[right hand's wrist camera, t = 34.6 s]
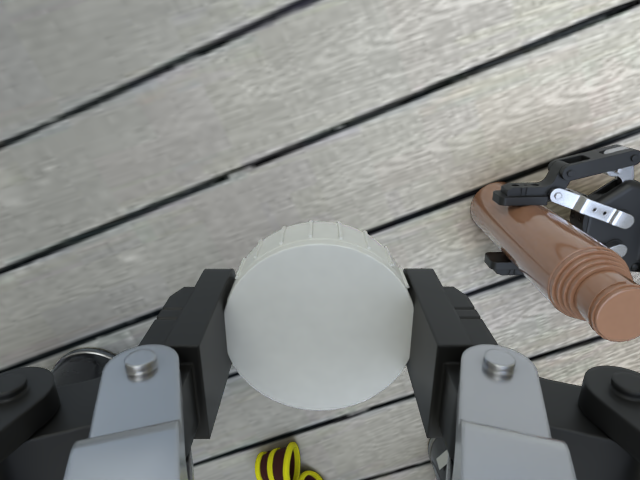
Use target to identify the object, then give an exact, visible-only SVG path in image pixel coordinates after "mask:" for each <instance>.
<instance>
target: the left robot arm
mask: <svg viewBox="0 0 640 480" xmlns="http://www.w3.org/2000/svg"><path fill="white" fill-rule="evenodd" d="M639 162H640V151H639V150H635V149H632V148H628V147H625V146H621V145H612V146H608V147H604V148H600V149H596V150H592V151H588V152H584V153H580V154H575V155H571V156H567V157H563V158H559V159H555V160H553V161H551V162H550V163H549V165H548V170H549V172H548V174H547V176H546V177H545V179H543V180H542V181H540V182H537V183H507V184H504V185H502V186H501V190H495V191H493V197H492V200H493V201H494V202H496V203H497V204H498V205H502V206H527V205H547V201H552V202H554V203H556V204H559V205H562V206H565V207H567V208H570V209H571V213H570V222H571V223H572V224H573V225H575V226H576V227H578V228H579V229H581V230H582V231H584V232H585V233H587V234H589V235H590V236H592V237H593V238H595V239H596V240H598V241H599V242H601V243H602V244H604V245H605V246H607V247H609V248H610V249H612V250H613V251H615V252H616V253H618V254H619V255H620V256H621V258H622V259H623V260H624V261H625V262H626V264H627V266H628V268H629V271H633V272H640V182H638V181H636V180H634V165H637V164H638V163H639ZM601 173H604V174H607V175H609V176H613V177H614V176H615V179H614V180H612V181H610V182H609V183H607V184H606V185H604V186H602V187H601V188H599V189H598V190H596V191H595V192H593V193H591V194H590V195H585V194H582V193H580V192H577V191H574V190H571V189H569V188H567V186H568V184H569V182H570V181H571V180H576V179H580V178H584V177H588V176H592V175H596V174H601ZM485 263H486V264H487V265H488V266H489V268H491V269H493V270H494V271H495V272H496V273H497V274H500V275H524V274H523V273H522V272H521V271H520V270H519V269H518V268H517V267H516V266H515V265H514V264H513V263H512V262H511V261H510V259H509V258H508V257H507V256H506V255H505V254H504V253H503V252H488V253H486V254H485ZM428 453H429V457H430V461H431V463H432V465H433V469H434V472H435V476H436V480H446V469H447V459H448V451H447V448H446V445H445V442H444V439H443V438H431V439H430V441H429V445H428Z"/></svg>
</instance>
